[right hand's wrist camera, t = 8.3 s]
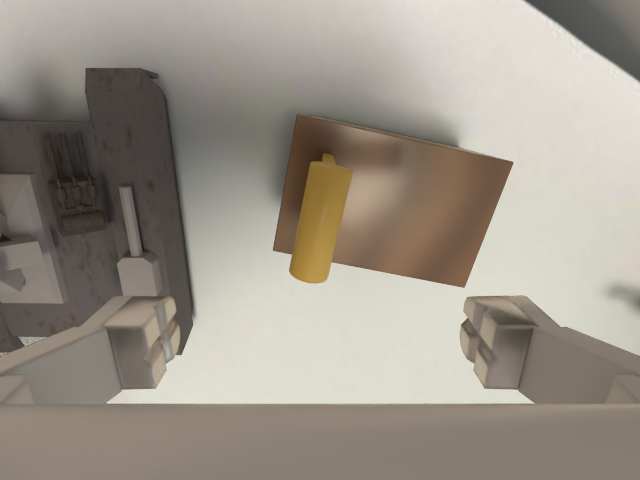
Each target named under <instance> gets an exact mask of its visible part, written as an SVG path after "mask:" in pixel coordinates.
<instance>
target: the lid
mask: <svg viewBox="0 0 640 480" xmlns="http://www.w3.org/2000/svg"><path fill="white" fill-rule="evenodd" d="M512 165H513V162H511V161H507V160H503V159H498V158H494V157H489V156H485V155H480V154H476V153H471V152H467V151H462V150H458V149H453V148H449V147H444V146H440V145H435V144H431V143H426V142H422V141H417V140H413V139H408V138H404V137H399V136H395V135H390V134H386V133H381V132H376V131H372V130H367V129H363V128H358V127H354V126H349V125H345V124H340V123H336V122H331V121H327V120H322V119H318V118H313V117H309V116H304V115H300V114H297V117H296V123H295V128H294V134H293V140H292V145H291V151H290V157H289V162H288V168H287V174H286V179H285V185H284V191H283V196H282V202H281V207H280V213H279V219H278V224H277V230H276V236H275V241H274V247H273V251H278V252H283V253H288V254H292V258H291V263H290V269H289V271H290V274H291V275H292V276H293V277H295V278H296V279H298V280H301V281H304V282H308V283H322V282H324V281H326V280H327V278H328V274H329V270H330V266H331V262H334V263H339V264H345V265H350V266H355V267H360V268H365V269H370V270H376V271H381V272H386V273H391V274H396V275H401V276H407V277H412V278H417V279H422V280H427V281H432V282H438V283H443V284H448V285H453V286H458V287H463V288H464V287H465V285H466V282H467V280H468V277H469V275H470V272H471V270H472V267H473V265H474V262H475V259H476V257H477V254H478V252H479V249H480V247H481V244H482V242H483V239H484V236H485V234H486V231H487V229H488V226H489V224H490V221H491V219H492V216H493V213H494V211H495V208H496V206H497V203H498V201H499V198H500V196H501V193H502V190H503V188H504V185H505V183H506V180H507V178H508V175H509V173H510V170H511V167H512Z"/></svg>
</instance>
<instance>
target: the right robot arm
mask: <svg viewBox="0 0 640 480" xmlns="http://www.w3.org/2000/svg"><path fill="white" fill-rule="evenodd" d="M176 311H177V310H176V305H175V300H174V299H173V298H172V297H170V296H134V295H132V296H114V297H113V298H111V299H110V300H109V301H108V302H107V303H106V304H105V305H104V306H102V307H101V308H100V309H99V310H98V311H97V312H96V313H95V314H93V315H92V316H91V317H90V318H89V319H88V320H87V321H86V322H84V323H83V324H82V325H81V326H80V327H72V328H70V329H67V330H65V331H62V332H60V333H57V334H55V335H52V336H50V337H47V338H45V339H42V340H40V341H37V342H35V343H32V344H30V345H27V346H25V347H22V348H20V349H17V350H15V351H12V352H10V353H7V354H5V355H2V356H0V480H640V356H638V355H635V354H633V353H630V352H628V351H625V350H623V349H620V348H618V347H615V346H613V345H610V344H608V343H605V342H603V341H600V340H598V339H595V338H593V337H590V336H588V335H585V334H583V333H580V332H578V331H575V330H573V329H570V328H568V327H560V326H559V325H558V324H557V323H556V322H555V321H553V320H552V319H551V318H550V317H549V316H548V315H547V314H546V313H544V312H543V311H542V310H541V309H540V308H539V307H538V306H537V305H535V304H534V303H533V302H532V301H531V300H530V299H529V298H528V297H526V296H522V295H519V296H477V297H467V299H466V301H465V304H464V310H463V311H464V313H465V314H466V316H467V317H468V318H467V319H466V320H465V321H464V322H463V323H462V324H461V330H460V342H461V347H462V350H463V353H464V355H465V357H466V358H467V359H468V360H470V361H471V362H473V363H474V372H475V374H476V375H477V377H478V379H479V380H480V382H481V384H482V385H483V387H484V389H519V390H518V391H519V392H521V393H522V394H523V395H525V396H526V397H527V398H529V399H530V400H531V401H533V402H534V403H535V404H105V403H106V402H107V401H109V400H110V399H112V398H113V397H114V396H116V395H117V394H118V393H120V392H121V389H155V388H156V387H157V385H158V384H159V382H160V380H161V379H162V377H163V375H164V374H165V372H166V363H167V362H169V361H170V360H172V359H173V358H174V357H175V355H176V353H177V351H178V347H179V343H180V329H179V324H178V323H177V322H176V321H175V320H174V319H173V318H172V317H173V316H174V314H175V313H176Z"/></svg>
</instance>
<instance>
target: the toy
mask: <svg viewBox="0 0 640 480" xmlns="http://www.w3.org/2000/svg"><path fill="white" fill-rule="evenodd" d="M151 78H158V74H156V73H153V72H150V71H146V70H143V69H141V68H86V81H85V93H86V98H87V103H88V108H89V114H90V119H91V122H66V121H0V352H12V351H15V350H17V349H20V348H22V347H24V344H23V343H22V342H21V340H20V339H19V338H18V337H50V336H52V335H55V334H57V333H60V332H62V331H65V330H67V329H70V328H72V327H80V326H81V325H82V324H83V323H84V322H86V321H87V320H88V319H89V318H90V317H91V316H92V315H93V314H95V313H96V312H97V311H98V310H99V309H100V308H101V307H102V306H104V305H105V304H106V303H107V302H108V301H109V300H110V299H111V298H113V297H114V296H132V295H134V296H170V297H172V298H173V299H174V300H175V305H176V310H177V311H176V313H175V314H174V316H173V317H172V318H173V319H174V320H175V321H176V322H177V323H178V324H179V329H180V343H179V347H178V351H177V353H176V355H182V352H183V350H184V347H185V345H186V342H187V339H188V337H189V334H190V332H191V329H192V326H193V321H192V310H193V303H192V295H191V288H190V280H189V272H188V264H187V257H186V249H185V241H184V233H183V225H182V218H181V210H180V202H179V194H178V186H177V179H176V171H175V163H174V155H173V148H172V140H171V132H170V124H169V116H168V109H167V101H166V98H165V95H164V94H163V91H162V90H161V89H160V87H159V86H158V85H157V84H156V83H155V82H154V81H153V80H152V79H151Z"/></svg>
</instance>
